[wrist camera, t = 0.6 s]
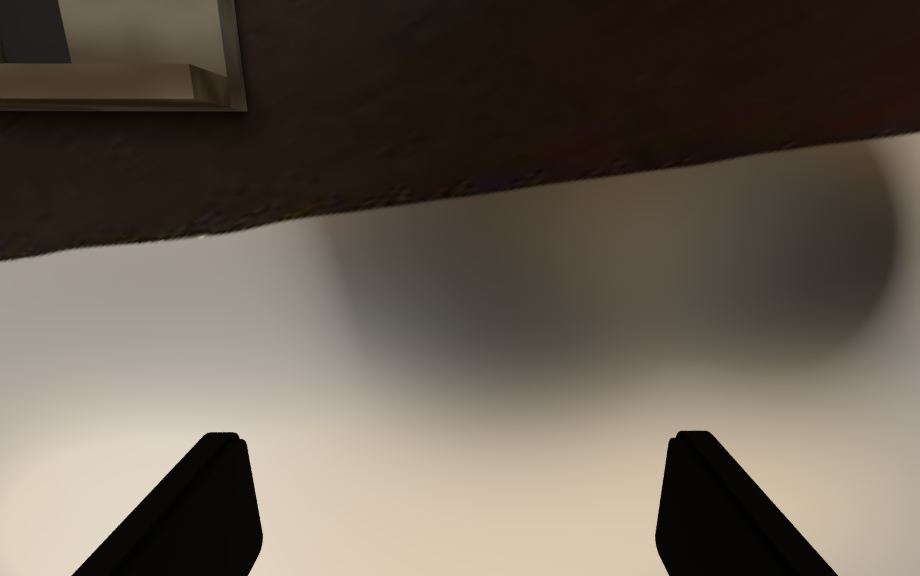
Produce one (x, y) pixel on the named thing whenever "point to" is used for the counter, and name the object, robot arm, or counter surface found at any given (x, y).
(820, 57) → the counter surface
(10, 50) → the trap pit mat
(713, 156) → the counter surface
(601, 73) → the counter surface
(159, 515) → the robot arm
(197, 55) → the channel deck
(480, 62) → the counter surface
